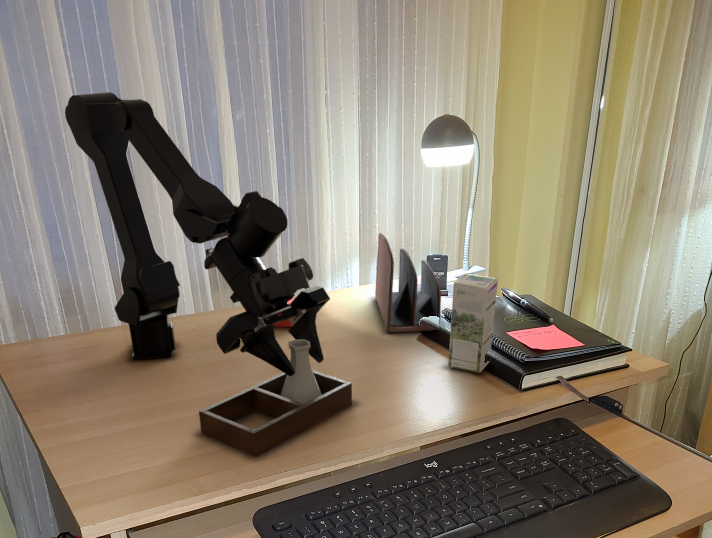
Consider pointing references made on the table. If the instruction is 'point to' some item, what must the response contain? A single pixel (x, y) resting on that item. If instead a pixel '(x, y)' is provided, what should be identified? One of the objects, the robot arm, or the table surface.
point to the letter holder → (404, 291)
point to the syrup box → (472, 321)
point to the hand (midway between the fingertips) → (307, 367)
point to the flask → (300, 374)
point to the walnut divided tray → (272, 413)
